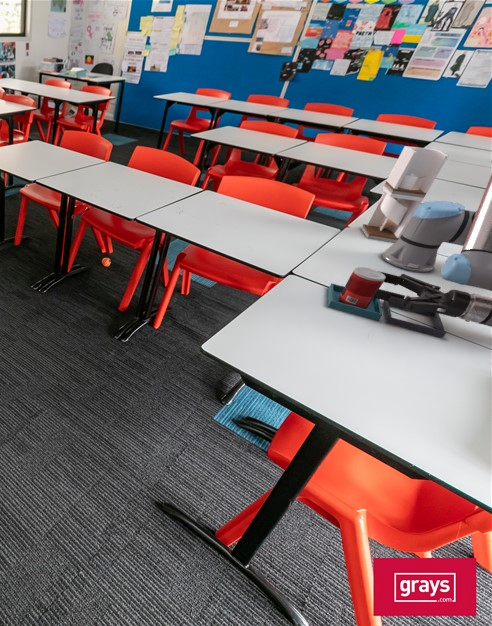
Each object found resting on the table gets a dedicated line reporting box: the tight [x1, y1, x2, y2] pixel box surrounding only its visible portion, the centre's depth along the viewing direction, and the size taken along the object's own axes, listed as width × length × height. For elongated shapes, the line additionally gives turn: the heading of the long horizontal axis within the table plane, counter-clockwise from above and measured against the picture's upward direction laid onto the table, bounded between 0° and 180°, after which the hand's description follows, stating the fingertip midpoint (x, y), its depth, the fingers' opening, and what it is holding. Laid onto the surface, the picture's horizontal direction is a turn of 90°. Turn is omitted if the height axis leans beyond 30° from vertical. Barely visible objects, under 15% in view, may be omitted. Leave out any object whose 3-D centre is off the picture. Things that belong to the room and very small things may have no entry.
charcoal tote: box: [381, 300, 447, 339], centre depth 126 cm, size 13×13×2 cm
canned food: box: [339, 266, 386, 309], centre depth 130 cm, size 8×8×11 cm
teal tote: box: [327, 283, 384, 322], centre depth 132 cm, size 13×13×2 cm
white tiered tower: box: [360, 145, 449, 243], centre depth 171 cm, size 11×11×35 cm
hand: (373, 283), depth 127 cm, fingers open, 13 cm apart
